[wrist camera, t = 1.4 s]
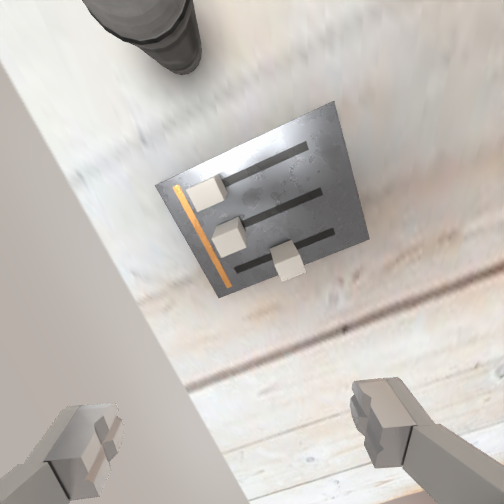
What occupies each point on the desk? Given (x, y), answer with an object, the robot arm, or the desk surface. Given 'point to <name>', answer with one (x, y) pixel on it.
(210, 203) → the block
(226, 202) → the grey slider panel
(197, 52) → the beverage cup
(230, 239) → the block
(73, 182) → the desk surface
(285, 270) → the block
